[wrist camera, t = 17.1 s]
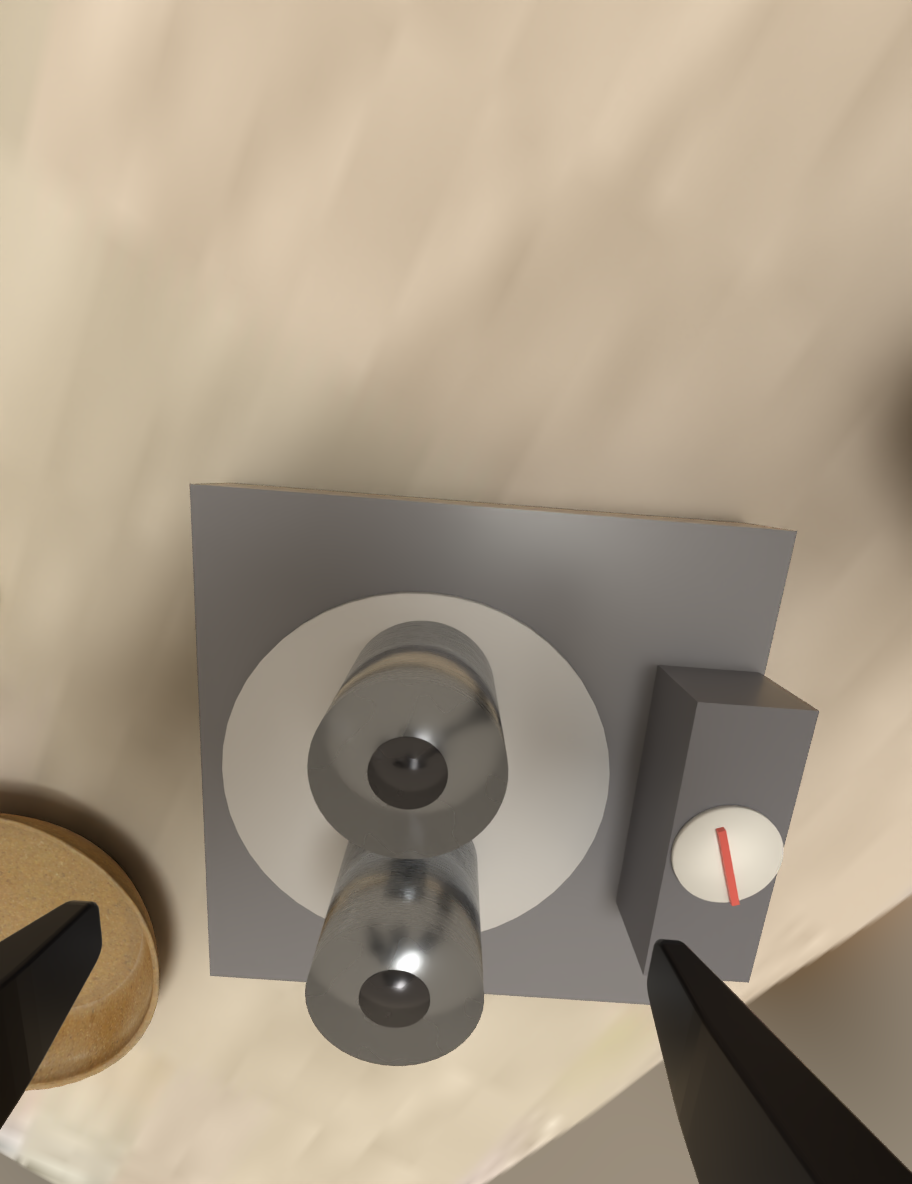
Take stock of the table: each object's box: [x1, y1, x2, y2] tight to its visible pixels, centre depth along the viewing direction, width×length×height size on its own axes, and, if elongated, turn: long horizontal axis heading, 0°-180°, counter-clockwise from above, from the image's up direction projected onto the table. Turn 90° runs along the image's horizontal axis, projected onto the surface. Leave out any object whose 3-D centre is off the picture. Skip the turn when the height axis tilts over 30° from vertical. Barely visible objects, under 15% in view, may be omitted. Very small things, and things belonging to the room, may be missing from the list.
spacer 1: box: [307, 621, 508, 859], centre depth 15 cm, size 5×5×5 cm
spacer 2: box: [305, 840, 484, 1066], centre depth 16 cm, size 5×5×5 cm
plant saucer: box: [0, 813, 159, 1091], centre depth 23 cm, size 15×15×3 cm
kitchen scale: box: [190, 483, 819, 1005], centre depth 18 cm, size 20×20×6 cm
